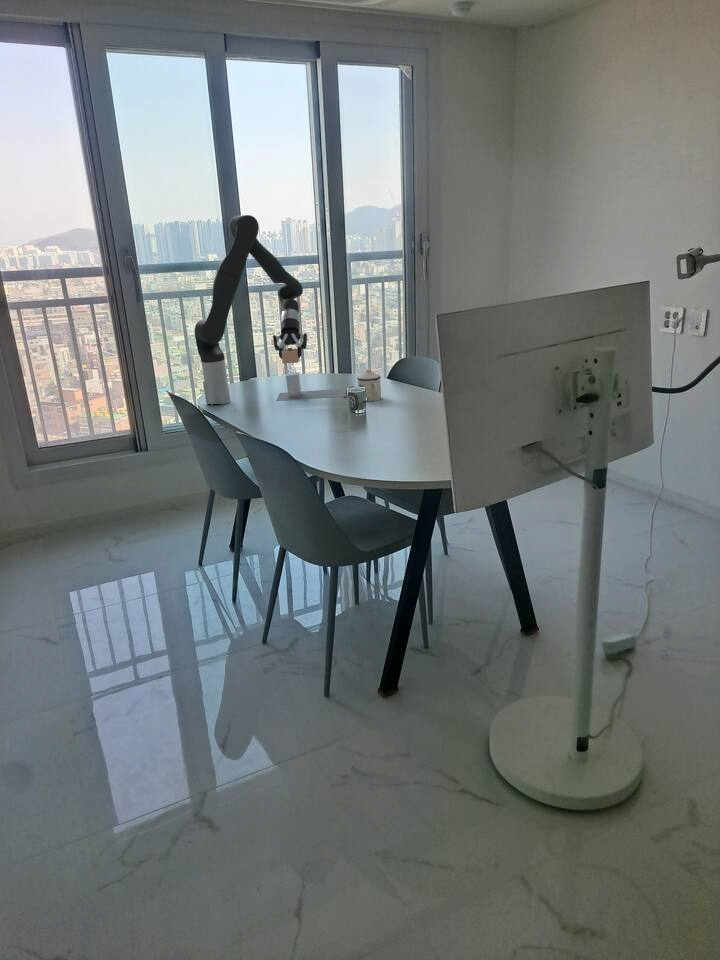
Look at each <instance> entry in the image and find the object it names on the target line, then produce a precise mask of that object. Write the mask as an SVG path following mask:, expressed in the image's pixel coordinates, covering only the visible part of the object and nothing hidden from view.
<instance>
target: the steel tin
mask: <svg viewBox="0 0 720 960" xmlns="http://www.w3.org/2000/svg"><path fill="white" fill-rule="evenodd" d="M285 380H286V389H287V392H288V398H291V397H301V394H302V392H301V391H302V386H301V385H302V382H301V374H300V371H298V372H287V373H286V375H285Z"/></svg>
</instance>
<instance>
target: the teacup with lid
mask: <svg viewBox="0 0 720 960" xmlns="http://www.w3.org/2000/svg"><path fill="white" fill-rule="evenodd" d="M356 379H357V385H358V387H365V388H366V398H367V401H366V402H374V401H373V400H376V401H379V400H381V399H382V390H381V389H382V388H381V387H382V386H381V375H380V374H379V373H376V372H375V371H372V370H371V368H366V370H365V371H364V372H362V373H361V374H358V375H357V377H356ZM358 387H357V388H358ZM380 398H381V399H380ZM378 399H379V400H378Z"/></svg>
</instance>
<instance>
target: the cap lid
mask: <svg viewBox="0 0 720 960" xmlns="http://www.w3.org/2000/svg"><path fill="white" fill-rule="evenodd" d="M281 360H282V361H281V362H282V364H298V363H299V362H300V358H298V348H293V347H288V348H284V349H283V351H282V359H281Z"/></svg>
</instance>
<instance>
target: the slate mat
mask: <svg viewBox="0 0 720 960" xmlns="http://www.w3.org/2000/svg"><path fill="white" fill-rule="evenodd" d="M301 392H302V394H301V397H291V398H288V391H287V392H279V394H278V396H277V398H276V402H285V401H297V400H298V401H299V400H312V399H313V400H315V399H329V398H330V399H331V398H343V399H345V398H347V394H346V388H335V389H334V388H333V389H317V390H304V391H302V390H301Z"/></svg>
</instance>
